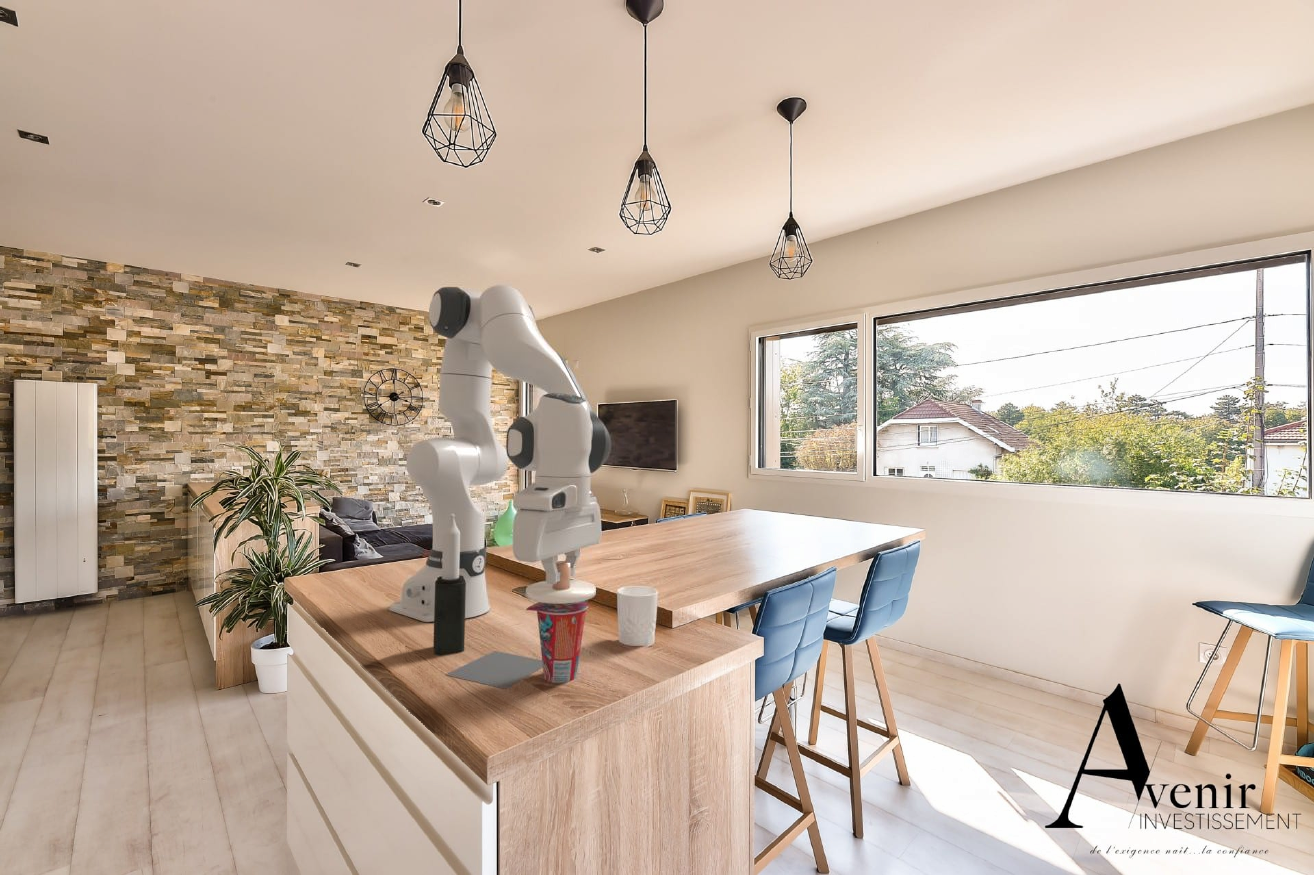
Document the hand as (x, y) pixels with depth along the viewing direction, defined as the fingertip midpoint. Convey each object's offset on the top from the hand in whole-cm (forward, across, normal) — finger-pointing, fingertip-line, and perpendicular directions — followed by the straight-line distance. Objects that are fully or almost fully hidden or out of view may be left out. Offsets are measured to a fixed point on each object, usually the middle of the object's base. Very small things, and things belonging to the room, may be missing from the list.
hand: (560, 580), depth 91 cm
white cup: (+16, -22, +3) cm, 28 cm away
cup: (+16, 0, 0) cm, 16 cm away
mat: (+16, +1, -11) cm, 19 cm away
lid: (+2, 0, 0) cm, 2 cm away
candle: (+16, -2, -25) cm, 30 cm away
